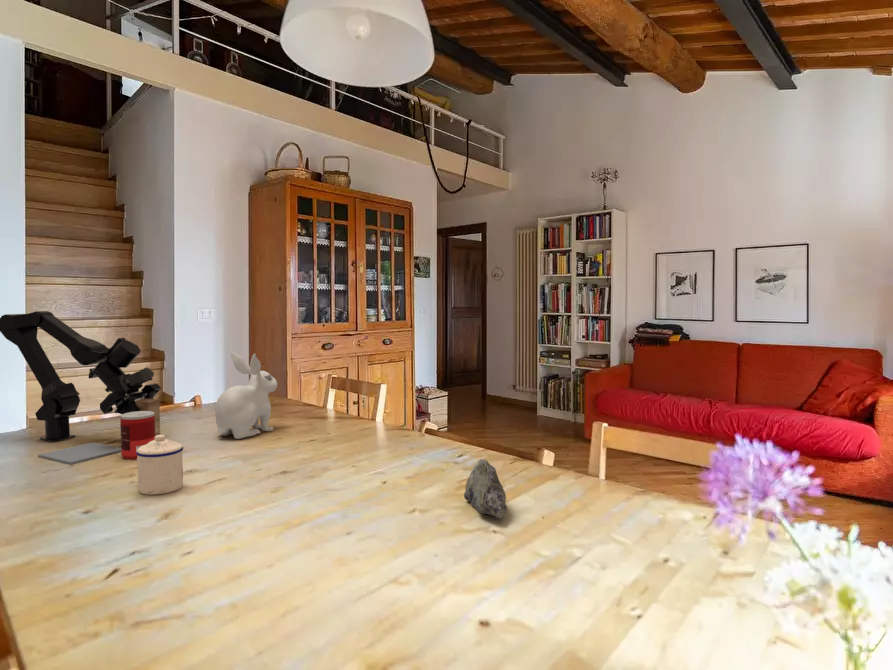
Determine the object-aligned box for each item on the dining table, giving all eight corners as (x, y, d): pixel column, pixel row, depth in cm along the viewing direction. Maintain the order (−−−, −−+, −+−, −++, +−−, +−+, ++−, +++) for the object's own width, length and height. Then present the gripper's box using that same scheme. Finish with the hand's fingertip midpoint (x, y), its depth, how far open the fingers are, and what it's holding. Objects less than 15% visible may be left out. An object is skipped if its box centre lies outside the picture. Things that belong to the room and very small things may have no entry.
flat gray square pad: (38, 456, 145) (38, 454, 145) (93, 444, 157) (93, 442, 157) (70, 464, 139) (70, 462, 139) (125, 450, 151) (125, 448, 151)
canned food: (161, 451, 151) (160, 411, 150) (142, 460, 143) (141, 417, 142) (134, 450, 152) (133, 410, 151) (114, 459, 144) (113, 416, 143)
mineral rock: (502, 527, 103) (503, 474, 103) (447, 519, 107) (447, 467, 106) (517, 503, 116) (518, 455, 115) (467, 497, 119) (468, 450, 118)
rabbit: (288, 429, 177) (287, 350, 176) (231, 443, 160) (230, 355, 158) (263, 424, 184) (262, 348, 182) (206, 437, 166) (205, 353, 164)
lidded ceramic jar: (193, 485, 124) (192, 433, 124) (155, 498, 116) (154, 443, 116) (158, 477, 130) (156, 427, 129) (119, 488, 122) (117, 435, 121)
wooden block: (134, 443, 157) (133, 401, 156) (145, 439, 162) (144, 398, 161) (150, 444, 157) (149, 402, 156) (161, 440, 161) (160, 399, 160)
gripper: (108, 363, 149) (147, 406, 148) (154, 356, 167) (189, 394, 166) (82, 391, 151) (120, 434, 150) (131, 381, 169) (165, 419, 168)
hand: (151, 419), depth 159 cm, fingers closed on wooden block, 5 cm apart
